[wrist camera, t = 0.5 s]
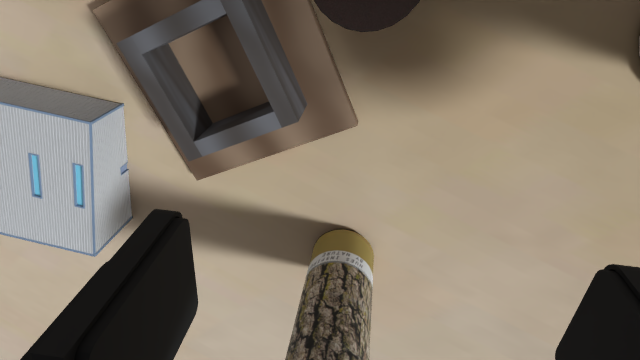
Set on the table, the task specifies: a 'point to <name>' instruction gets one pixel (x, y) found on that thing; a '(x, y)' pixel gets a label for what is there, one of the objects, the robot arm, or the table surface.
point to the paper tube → (335, 301)
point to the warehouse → (62, 168)
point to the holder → (231, 75)
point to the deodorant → (366, 12)
